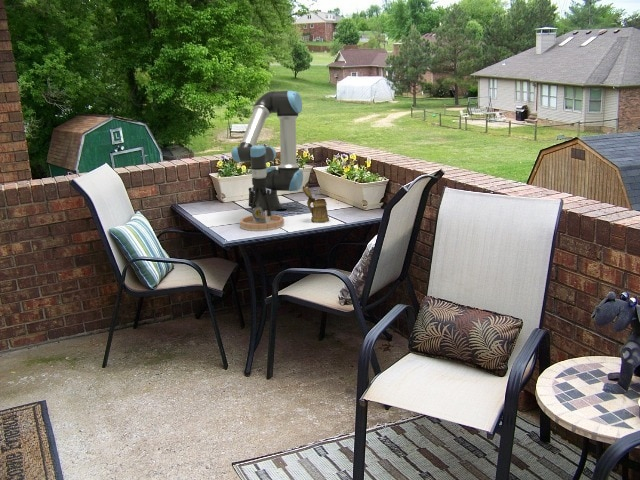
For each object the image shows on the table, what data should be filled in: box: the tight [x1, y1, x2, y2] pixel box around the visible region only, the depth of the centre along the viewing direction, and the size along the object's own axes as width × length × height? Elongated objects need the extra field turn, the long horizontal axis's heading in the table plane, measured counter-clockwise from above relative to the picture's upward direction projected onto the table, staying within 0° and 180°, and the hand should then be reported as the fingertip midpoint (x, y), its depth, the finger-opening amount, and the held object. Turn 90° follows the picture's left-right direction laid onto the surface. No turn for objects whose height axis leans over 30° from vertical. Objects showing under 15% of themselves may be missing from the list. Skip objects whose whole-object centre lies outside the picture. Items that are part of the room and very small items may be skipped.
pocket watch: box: [251, 202, 266, 223], centre depth 355 cm, size 8×8×10 cm
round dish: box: [239, 213, 285, 232], centre depth 356 cm, size 22×22×3 cm
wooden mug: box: [302, 185, 330, 224], centre depth 360 cm, size 9×14×18 cm, turn 71°
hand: (261, 221), depth 356 cm, fingers closed on pocket watch, 8 cm apart
